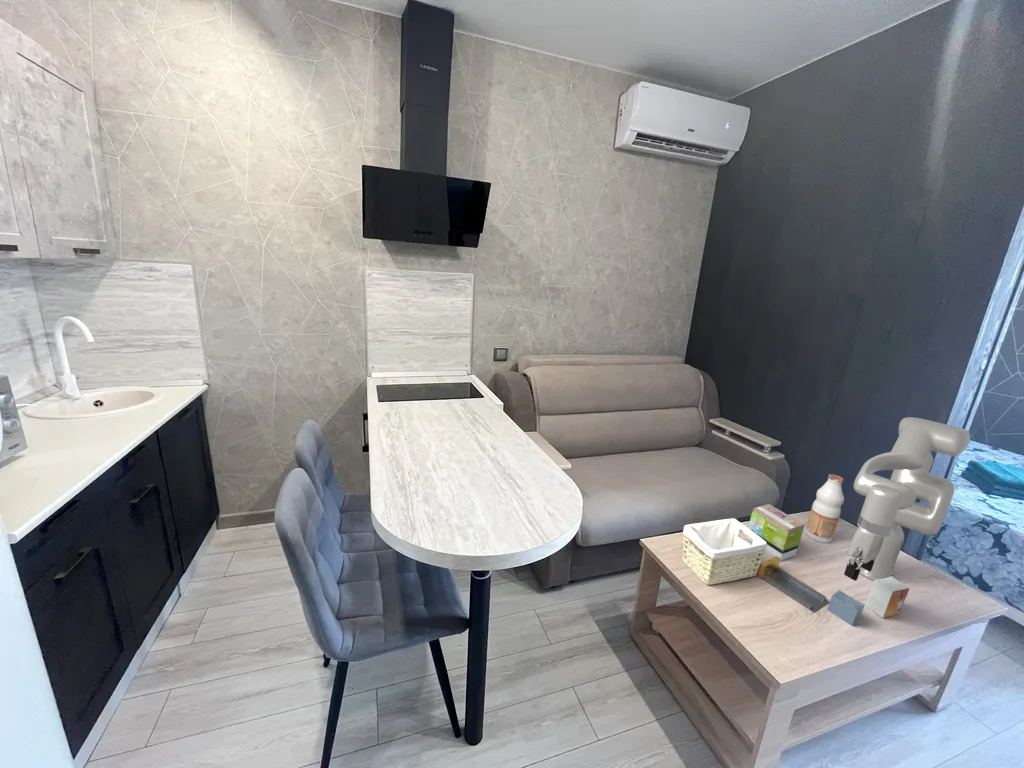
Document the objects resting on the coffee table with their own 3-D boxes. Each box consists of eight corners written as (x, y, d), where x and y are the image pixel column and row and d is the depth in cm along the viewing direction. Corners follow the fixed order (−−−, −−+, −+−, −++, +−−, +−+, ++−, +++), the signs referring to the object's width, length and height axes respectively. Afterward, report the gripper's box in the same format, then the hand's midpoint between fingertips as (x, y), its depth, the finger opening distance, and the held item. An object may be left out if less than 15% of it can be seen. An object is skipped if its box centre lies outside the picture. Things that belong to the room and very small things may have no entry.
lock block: (834, 605, 140) (839, 590, 138) (859, 620, 134) (864, 605, 132) (827, 610, 137) (832, 595, 136) (851, 626, 131) (857, 610, 130)
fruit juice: (800, 533, 178) (817, 474, 170) (810, 527, 183) (828, 469, 175) (825, 546, 170) (844, 484, 163) (835, 539, 175) (855, 479, 168)
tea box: (744, 538, 172) (752, 507, 168) (760, 533, 176) (768, 502, 172) (779, 562, 159) (789, 528, 155) (796, 556, 163) (806, 523, 159)
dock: (773, 567, 156) (776, 555, 154) (828, 602, 141) (832, 589, 139) (757, 575, 151) (760, 563, 150) (813, 612, 136) (817, 599, 134)
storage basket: (705, 589, 143) (713, 552, 139) (675, 557, 158) (682, 523, 154) (760, 578, 150) (770, 543, 146) (727, 549, 165) (735, 516, 160)
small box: (882, 618, 135) (892, 591, 132) (864, 605, 140) (873, 579, 137) (900, 614, 137) (910, 588, 134) (881, 601, 142) (891, 575, 139)
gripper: (871, 512, 134) (856, 558, 138) (846, 525, 125) (830, 573, 130) (901, 525, 127) (884, 572, 132) (876, 539, 119) (859, 589, 123)
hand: (857, 573), depth 131 cm, fingers open, 9 cm apart
